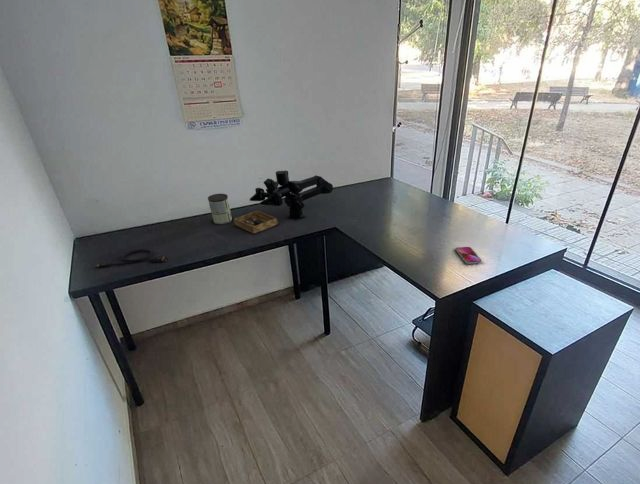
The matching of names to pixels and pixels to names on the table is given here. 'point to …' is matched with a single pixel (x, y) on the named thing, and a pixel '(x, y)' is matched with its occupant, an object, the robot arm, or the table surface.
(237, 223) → the brown wooden tray
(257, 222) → the tongs
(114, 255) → the table surface
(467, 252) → the smartphone
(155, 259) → the cable
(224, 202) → the coffee can
